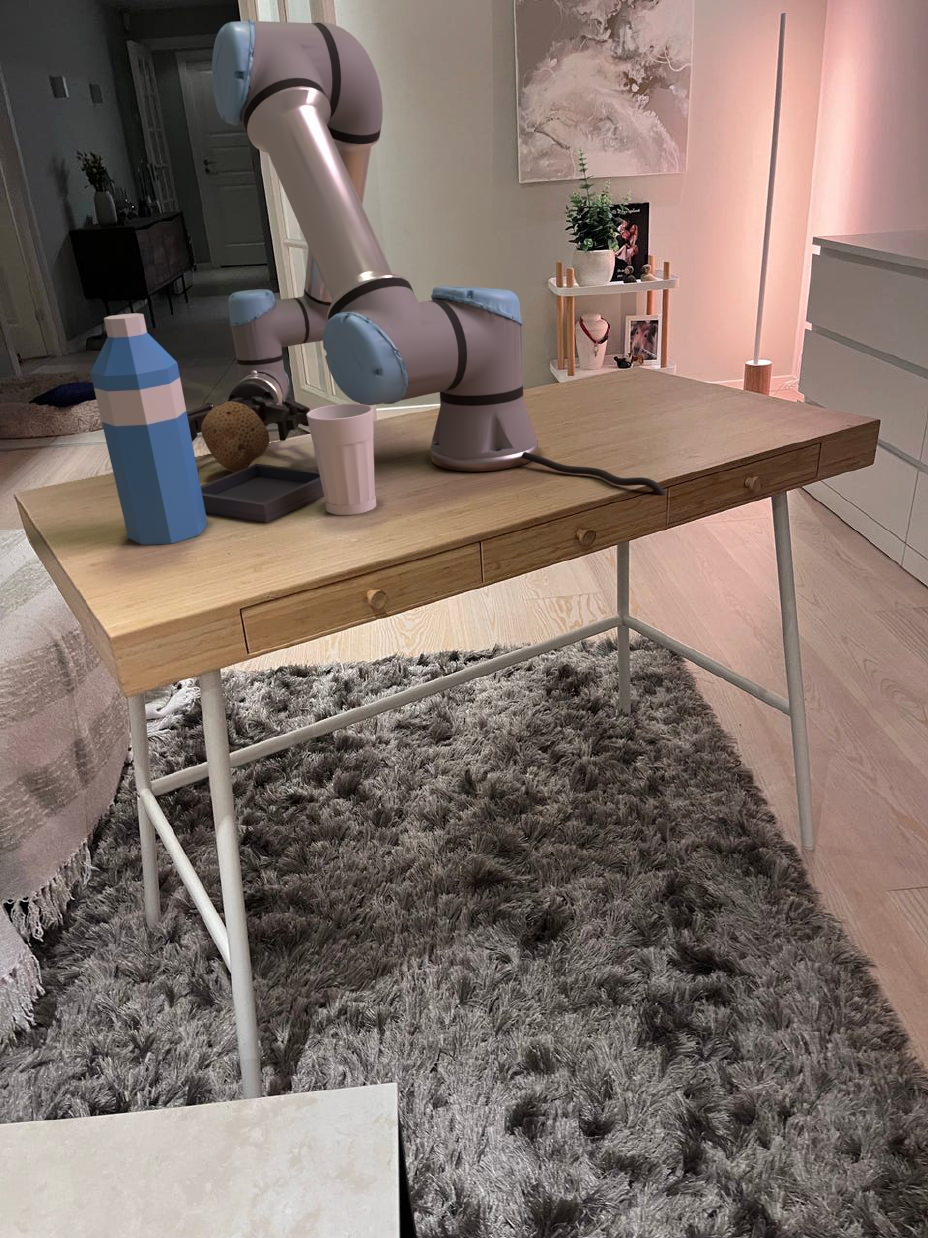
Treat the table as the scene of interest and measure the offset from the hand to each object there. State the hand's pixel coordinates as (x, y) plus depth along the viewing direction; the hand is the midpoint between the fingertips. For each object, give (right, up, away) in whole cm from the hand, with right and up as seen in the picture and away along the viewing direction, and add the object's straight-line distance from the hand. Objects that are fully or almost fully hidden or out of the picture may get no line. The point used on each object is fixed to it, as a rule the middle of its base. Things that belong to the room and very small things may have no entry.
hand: (232, 434), depth 130 cm
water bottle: (-3, -15, -17) cm, 23 cm away
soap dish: (+6, -10, -8) cm, 14 cm away
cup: (+18, -12, -13) cm, 25 cm away
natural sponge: (0, -4, +5) cm, 7 cm away
